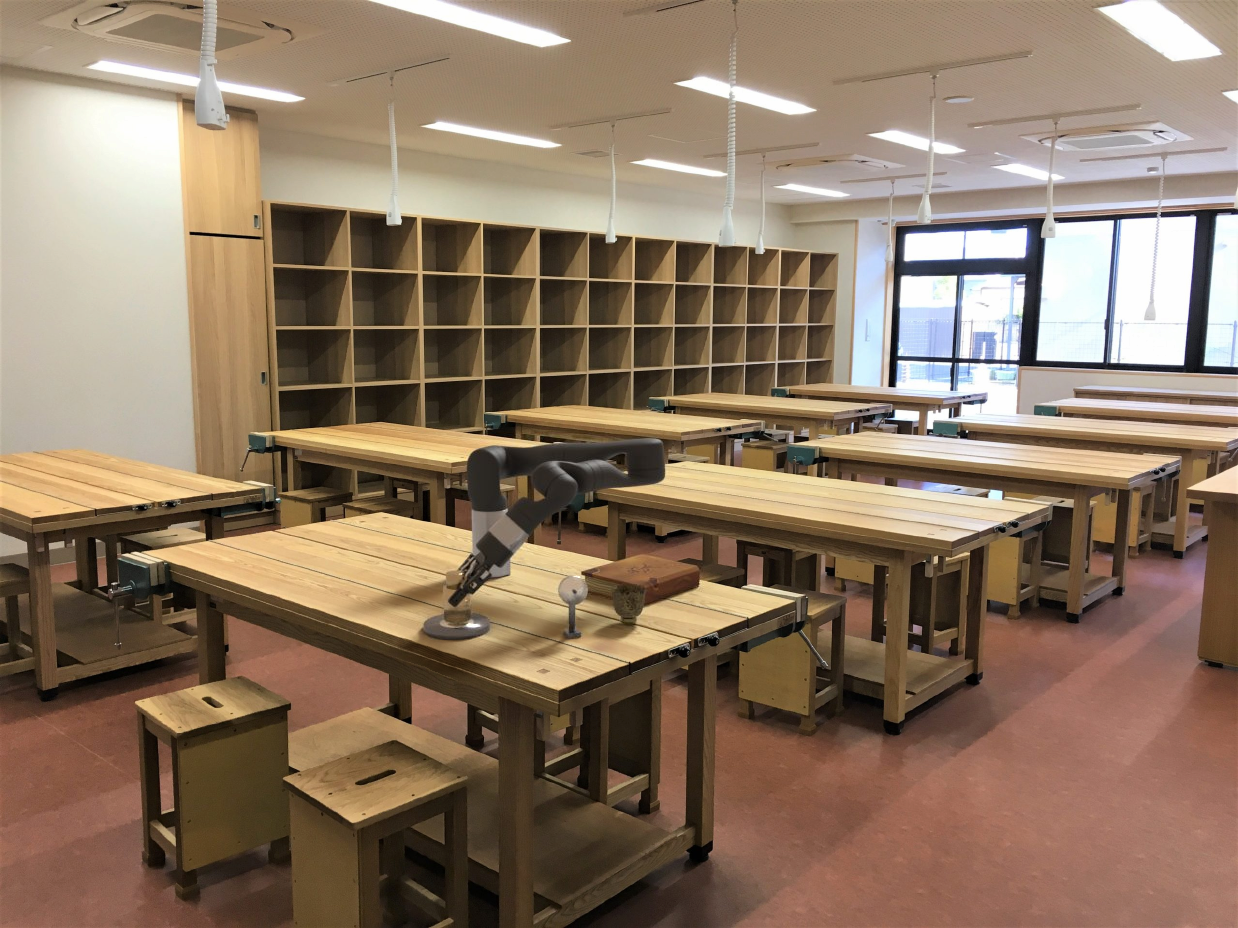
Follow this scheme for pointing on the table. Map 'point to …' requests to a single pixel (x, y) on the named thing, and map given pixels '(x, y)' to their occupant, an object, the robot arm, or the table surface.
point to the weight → (464, 607)
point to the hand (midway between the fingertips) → (448, 599)
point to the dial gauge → (572, 600)
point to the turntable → (456, 627)
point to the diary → (643, 577)
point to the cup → (628, 602)
